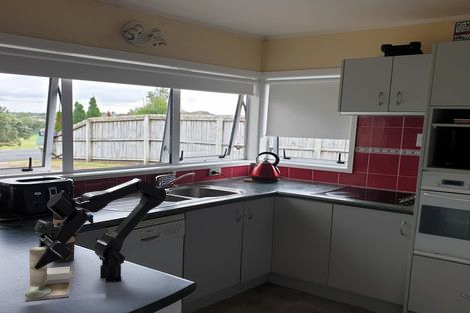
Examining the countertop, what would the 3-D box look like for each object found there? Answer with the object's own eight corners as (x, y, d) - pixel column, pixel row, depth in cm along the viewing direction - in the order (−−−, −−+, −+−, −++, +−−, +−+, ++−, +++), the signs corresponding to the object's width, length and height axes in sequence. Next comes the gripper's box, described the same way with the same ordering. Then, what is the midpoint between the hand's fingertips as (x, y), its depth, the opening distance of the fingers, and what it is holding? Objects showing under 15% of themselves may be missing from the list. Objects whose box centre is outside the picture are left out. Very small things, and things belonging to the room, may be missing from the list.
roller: (42, 279, 130) (41, 245, 129) (50, 283, 127) (49, 249, 126) (27, 284, 126) (26, 249, 125) (34, 288, 123) (34, 252, 123)
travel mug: (53, 260, 160) (53, 210, 158) (74, 258, 163) (74, 209, 161) (53, 267, 153) (52, 214, 151) (75, 264, 156) (75, 213, 154)
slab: (70, 277, 140) (70, 266, 139) (68, 284, 134) (68, 272, 134) (41, 280, 137) (41, 268, 136) (38, 287, 131) (38, 275, 131)
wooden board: (73, 272, 147) (73, 268, 147) (68, 298, 127) (68, 293, 126) (34, 275, 144) (34, 271, 143) (23, 302, 123) (23, 297, 122)
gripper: (43, 205, 135) (6, 243, 129) (59, 216, 120) (18, 260, 114) (68, 225, 140) (34, 263, 134) (87, 238, 126) (49, 281, 120)
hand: (33, 266), depth 126 cm, fingers closed on roller, 5 cm apart
